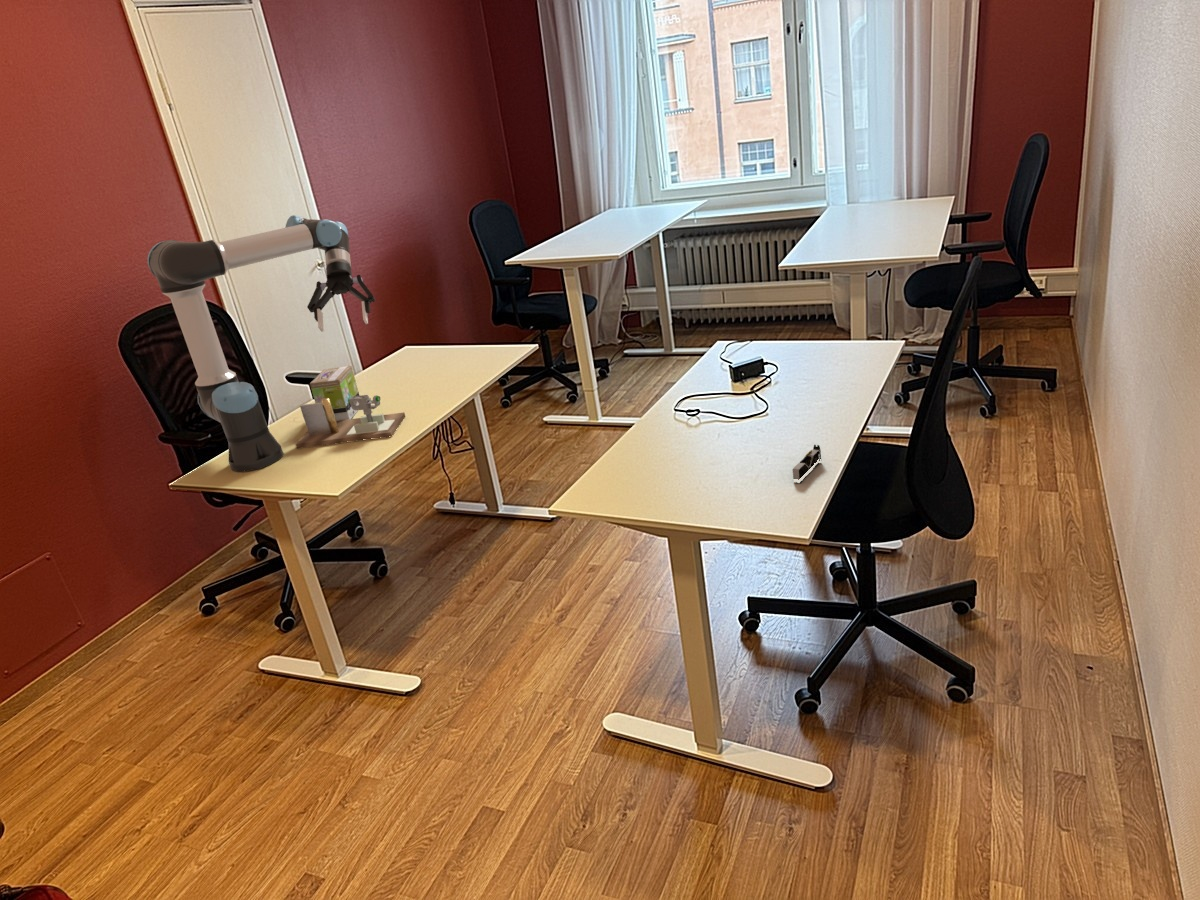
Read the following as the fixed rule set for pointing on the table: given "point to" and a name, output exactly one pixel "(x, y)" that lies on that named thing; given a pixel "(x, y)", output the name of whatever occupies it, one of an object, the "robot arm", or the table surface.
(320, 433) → the board
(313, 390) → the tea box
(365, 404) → the mechanical component
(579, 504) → the table surface
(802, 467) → the graphics card
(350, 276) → the robot arm
